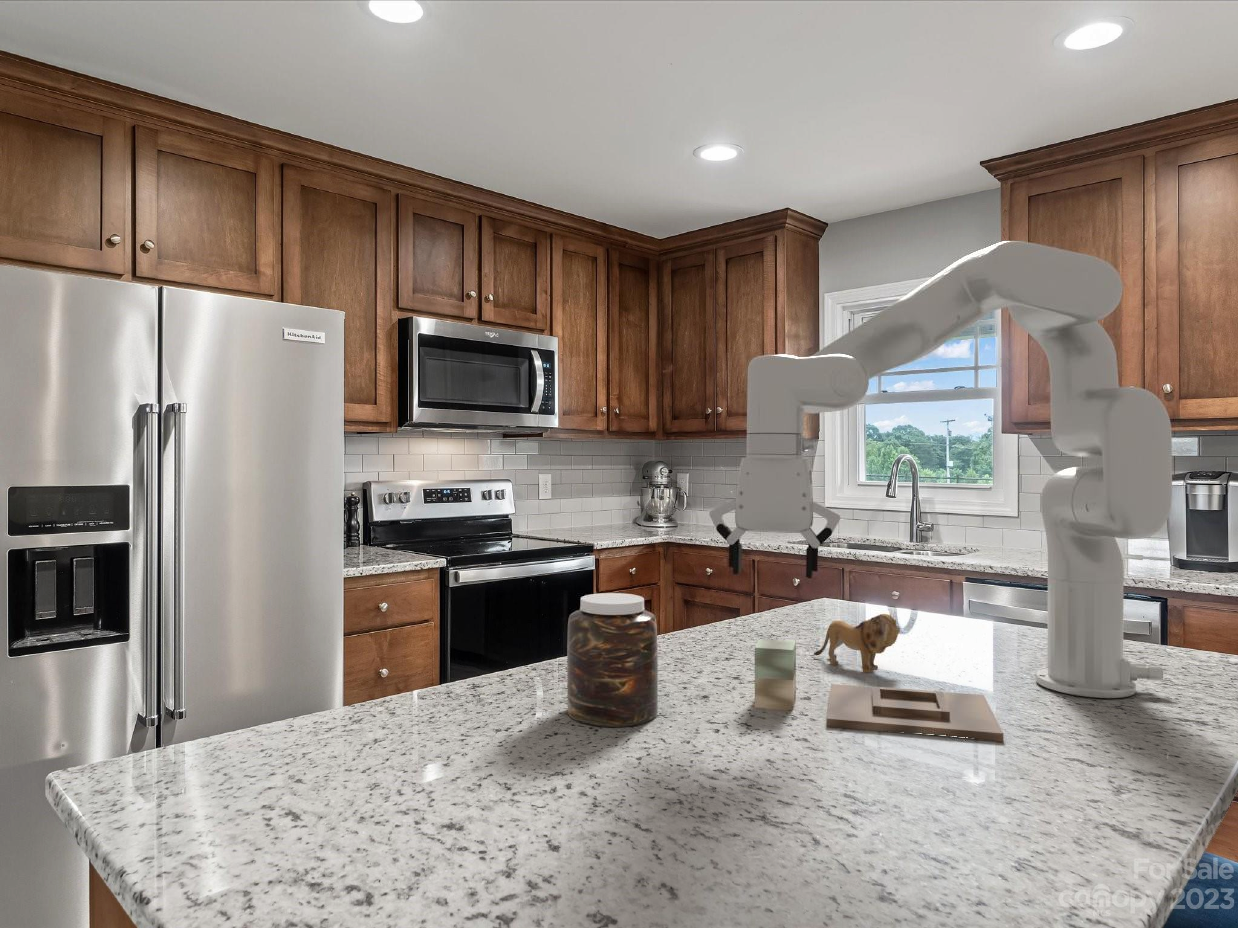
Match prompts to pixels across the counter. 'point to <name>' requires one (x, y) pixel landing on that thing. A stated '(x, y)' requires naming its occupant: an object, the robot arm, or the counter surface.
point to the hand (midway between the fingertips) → (772, 575)
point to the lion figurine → (862, 638)
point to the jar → (612, 661)
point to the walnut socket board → (912, 712)
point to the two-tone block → (775, 674)
